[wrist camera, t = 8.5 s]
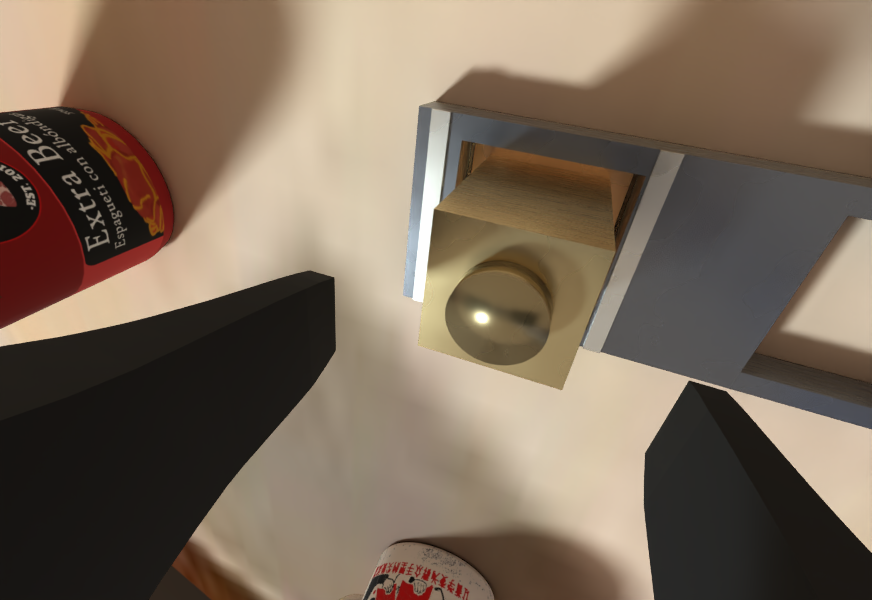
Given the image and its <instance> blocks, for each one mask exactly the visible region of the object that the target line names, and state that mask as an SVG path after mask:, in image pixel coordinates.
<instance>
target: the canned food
mask: <svg viewBox="0 0 872 600" xmlns="http://www.w3.org/2000/svg"><path fill="white" fill-rule="evenodd" d="M173 222H174V216H173V206H172V202H171V198H170V194H169V191H168V188H167V186H166V183H165V181H164V178H163V176H162V175H161V173H160V171H159V169H158V168H157V166H156V164H155V162H154V161H153V160H152V158H151V157H150V156H149V154H148V153H147V152H146V150H145V149H144V148H143V147H142V146H141V145H140V144H139V142H138V141H137V140H136V139H135V138H134V137H133V136H132V135H131V134H130V133H128V132H127V131H126V130H125V129H124V128H122V127H121V126H120V125H119V124H117V123H115V122H114V121H112V120H110V119H109V118H107V117H105V116H103V115H100V114H98V113H95V112H92V111H86V110H80V109H74V108H68V107H51V108H41V109H31V110H21V111H11V112H1V113H0V329H1V328H3V327H6V326H8V325H10V324H12V323H14V322H16V321H18V320H21V319H23V318H25V317H27V316H29V315H31V314H33V313H35V312H38V311H40V310H42V309H44V308H46V307H48V306H50V305H52V304H55V303H57V302H59V301H61V300H63V299H65V298H67V297H69V296H72V295H74V294H76V293H78V292H80V291H82V290H84V289H86V288H89V287H91V286H93V285H95V284H97V283H99V282H101V281H103V280H106V279H108V278H110V277H112V276H114V275H116V274H118V273H121V272H123V271H125V270H127V269H129V268H131V267H133V266H135V265H138V264H140V263H142V262H144V261H146V260H148V259H149V258H151V257H153V256H154V255H155V254H156V253H157V252H158V251H159V250H160V249H161V248H162V247H163V246H164V245H165V244H166V243H167V241H168V240H169V238H170V236H171V233H172V231H173Z"/></svg>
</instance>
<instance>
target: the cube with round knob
mask: <svg viewBox="0 0 872 600" xmlns="http://www.w3.org/2000/svg"><path fill="white" fill-rule="evenodd" d="M615 252H616V250H615V236H614V222H613V208H612V195H611V181H610V179H609V178H604V177H599V176H594V175H589V174H584V173H579V172H574V171H569V170H564V169H559V168H554V167H549V166H544V165H539V164H534V163H529V162H524V161H519V160H514V159H509V158H504V157H499V156H494V155H490V156H489V157H488V158H487V159H486V160H484V161H483V162H482V163H481V164H480V165H479V166H478V167H477V168H476V169H475V170H474V171H473V172H472V173H471V174H470V175H469V176H468V177H467V178H466V179H465V180H464V181H463V182H461V183H460V184H459V185H458V186H457V187H456V188H455V189H454V190H453V191H452V192H451V193H450V194H449V195H448V196H447V197H446V198H445V199H444V200H443V201H442V202H441V203H440V204H438V205H437V206H436V207H435V208H434V211H433V220H432V229H431V237H430V246H429V254H428V263H427V271H426V280H425V288H424V297H423V306H422V314H421V323H420V331H419V340H418V346H421V347H425V348H428V349H431V350H434V351H438V352H441V353H444V354H447V355H450V356H454V357H457V358H460V359H463V360H467V361H470V362H473V363H476V364H479V365H483V366H486V367H489V368H492V369H496V370H499V371H502V372H505V373H508V374H512V375H515V376H518V377H521V378H525V379H528V380H531V381H534V382H537V383H541V384H544V385H547V386H550V387H554V388H557V389H560V390H562V389H563V386H564V384H565V381H566V378H567V376H568V373H569V371H570V368H571V366H572V363H573V360H574V358H575V355H576V353H577V350H578V347H579V345H580V342H581V340H582V337H583V335H584V332H585V329H586V327H587V324H588V322H589V319H590V317H591V314H592V311H593V309H594V306H595V304H596V301H597V298H598V296H599V293H600V291H601V288H602V286H603V283H604V280H605V278H606V275H607V273H608V270H609V267H610V265H611V262H612V260H613V257H614V255H615Z"/></svg>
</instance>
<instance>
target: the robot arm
mask: <svg viewBox="0 0 872 600" xmlns="http://www.w3.org/2000/svg"><path fill="white" fill-rule="evenodd" d="M335 351H336V337H335V284H334V277H331V276H327V275H324V274H320V273H317V272H313V271H305V272H301V273H297V274H293V275H289V276H286V277H283V278H279V279H276V280H273V281H269V282H266V283H263V284H260V285H257V286H254V287H250V288H247V289H244V290H241V291H238V292H234V293H231V294H228V295H225V296H222V297H219V298H215V299H212V300H209V301H205V302H202V303H198V304H195V305H191V306H188V307H184V308H181V309H177V310H173V311H170V312H166V313H163V314H159V315H156V316H152V317H148V318H144V319H140V320H136V321H132V322H128V323H124V324H120V325H115V326H111V327H106V328H101V329H97V330H92V331H87V332H82V333H78V334H73V335H67V336H62V337H57V338H50V339H44V340H38V341H32V342H26V343H19V344H13V345H7V346H1V347H0V600H149V598H150V597H151V595H152V594H153V592H154V591H155V589H156V587H157V586H158V584H159V583H160V581H161V580H162V578H163V577H164V575H165V574H166V572H167V571H168V569H169V568H170V567H171V565H172V564H173V562H174V561H175V559H176V558H177V556H178V555H179V553H180V552H181V550H182V549H183V547H184V546H185V545H186V543H187V542H188V540H189V539H190V537H191V536H192V534H193V533H194V531H195V530H196V528H197V527H198V526H199V524H200V523H201V522H202V520H203V519H204V517H205V516H206V515H207V513H208V512H209V510H210V509H211V508H212V506H213V505H214V503H215V502H216V501H217V499H218V498H219V496H220V495H221V494H222V492H223V491H224V490H225V488H226V487H227V485H228V484H229V483H230V482H231V481H232V479H233V478H234V477H235V476H236V474H237V473H238V472H239V471H240V469H241V468H242V467H243V466H244V465H245V463H246V462H247V461H248V460H249V459H250V458H251V457H252V455H253V454H254V453H255V452H256V451H257V450H258V449H259V447H260V446H261V445H262V444H263V443H264V442H265V441H266V439H267V438H268V437H269V436H270V435H271V434H272V433H273V431H274V430H275V429H276V428H277V427H278V426H279V425H280V423H281V422H282V421H283V420H284V419H285V418H286V417H287V415H288V414H289V413H290V412H291V411H292V410H293V408H294V407H295V406H296V405H297V404H298V403H299V401H300V400H301V399H302V398H303V397H304V396H305V394H306V393H307V392H308V391H309V390H310V389H311V387H312V386H313V385H314V383H315V382H316V380H317V379H318V377H319V376H320V374H321V373H322V371H323V370H324V368H325V367H326V365H327V364H328V362H329V360H330V359H331V357H332V356H333V354H334V352H335ZM644 511H645V521H646V530H647V540H648V549H649V557H650V566H651V574H652V583H653V592H654V600H872V553H871V552H870V551H869V550H868V549H867V548H866V547H865V545H864V544H863V543H862V542H861V541H860V540H859V539H858V538H857V537H856V536H855V535H854V534H853V533H852V532H851V530H850V529H849V528H848V527H847V526H846V525H845V524H844V523H843V522H842V521H841V520H840V519H839V517H838V516H837V515H836V514H835V513H834V512H833V511H832V510H831V509H830V508H829V506H828V505H827V504H826V503H825V502H824V501H823V500H822V499H821V498H820V496H819V495H818V494H817V493H816V492H815V491H814V490H813V488H812V487H811V486H810V485H809V484H808V483H807V482H806V481H805V479H804V478H803V477H802V476H801V475H800V474H799V473H798V471H797V470H796V469H795V468H794V467H793V466H792V465H791V463H790V462H789V461H788V460H787V459H786V458H785V457H784V455H783V454H782V453H781V452H780V451H779V450H778V448H777V447H776V446H775V445H774V444H773V443H772V442H771V440H770V439H769V438H768V437H767V436H766V435H765V433H764V432H763V431H762V430H761V429H760V428H759V427H758V425H757V424H756V423H755V422H754V421H753V420H752V419H751V417H750V416H749V415H748V414H747V413H746V412H745V411H744V410H743V408H742V407H741V406H740V405H739V404H738V403H737V402H736V401H735V400H734V399H733V398H732V397H731V396H730V395H729V394H728V393H727V392H726V391H723V390H720V389H716V388H713V387H709V386H706V385H703V384H699V383H696V382H692V381H689V382H688V383H687V385H686V387H685V388H684V390H683V392H682V393H681V395H680V397H679V398H678V400H677V401H676V403H675V405H674V406H673V408H672V410H671V411H670V413H669V415H668V416H667V418H666V420H665V421H664V423H663V425H662V426H661V428H660V430H659V431H658V433H657V435H656V436H655V438H654V439H653V441H652V443H651V444H650V446H649V448H648V449H647V451H646V453H645V470H644Z"/></svg>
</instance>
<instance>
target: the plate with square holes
mask: <svg viewBox="0 0 872 600" xmlns="http://www.w3.org/2000/svg"><path fill="white" fill-rule="evenodd" d="M472 142H474V143H476V145H475V151H474V157H473V164H472V170H471V173H472V172H473V171H474V170H475V169H476V168H477V167H478V166H479V165H480V164H481V163H482V162H483V161H484V160H486V159H487V158H488V157H489V156H490V155H494V156H499V157H504V158H509V159H514V160H519V161H524V162H529V163H534V164H539V165H544V166H549V167H554V168H559V169H564V170H569V171H574V172H579V173H584V174H589V175H594V176H599V177H604V178H609V179H610V181H611V195H612V208H613V222H614V226H615V223H616V220H617V218H618V215H619V212H620V209H621V207H622V204H623V201H624V199H625V196H626V193H627V191H628V188H629V185H630V183H631V180H632V177H633V175H634V174H638V177H637V179H636V182H635V185H634V187H633V190H632V192H631V195H630V198H629V200H628V203H627V206H626V208H625V211H624V214H623V216H622V219H621V222H620V224H619V227H618V229H617V232H616V235H615V250H616V252H615V255H614V257H613V260H612V262H611V265H610V267H609V270H608V273H607V275H606V278H605V280H604V283H603V286H602V288H601V291H600V293H599V296H598V298H597V301H596V304H595V306H594V309H593V311H592V314H591V317H590V319H589V322H588V324H587V327H586V329H585V332H584V335H583V337H582V340H581V342H580V345H579V346H582V347H583V349H587V350H590V351H594V352H597V353H600V352H603V353H607V354H610V355H614V356H617V357H621V358H624V359H628V360H631V361H635V362H638V363H642V364H645V365H649V366H652V367H656V368H659V369H663V370H666V371H670V372H673V373H677V374H680V375H684V376H687V377H691V378H694V379H698V380H701V381H705V382H708V383H712V384H715V385H719V386H722V387H726V388H729V389H733V390H736V391H740V392H743V393H746V394H750V395H753V396H757V397H760V398H764V399H767V400H771V401H774V402H778V403H781V404H785V405H788V406H792V407H795V408H799V409H802V410H806V411H809V412H813V413H816V414H820V415H823V416H827V417H830V418H834V419H837V420H841V421H844V422H848V423H851V424H855V425H858V426H862V427H865V428H869V429H872V384H870V383H866V382H862V381H858V380H855V379H851V378H847V377H843V376H839V375H836V374H832V373H828V372H824V371H821V370H817V369H813V368H809V367H806V366H802V365H798V364H794V363H791V362H787V361H783V360H779V359H776V358H772V357H768V356H764V355H761V354H757V353H754V352H755V350H756V349H757V347H758V346H759V344H760V343H761V341H762V340H763V339H764V337H765V336H766V334H767V333H768V331H769V330H770V328H771V327H772V325H773V324H774V323H775V321H776V320H777V318H778V317H779V315H780V314H781V312H782V311H783V309H784V308H785V307H786V305H787V304H788V302H789V301H790V299H791V298H792V296H793V295H794V294H795V292H796V291H797V289H798V288H799V286H800V285H801V283H802V282H803V280H804V279H805V278H806V276H807V275H808V273H809V272H810V270H811V269H812V267H813V266H814V264H815V263H816V262H817V260H818V259H819V257H820V256H821V254H822V253H823V251H824V250H825V248H826V247H827V246H828V244H829V243H830V241H831V240H832V238H833V237H834V235H835V234H836V233H837V231H838V230H839V228H840V227H841V225H842V224H843V222H844V221H845V219H846V218H847V217H848V216H853V217H858V218H863V219H868V220H872V178H866V177H860V176H855V175H849V174H843V173H838V172H832V171H827V170H821V169H815V168H810V167H804V166H798V165H793V164H787V163H781V162H776V161H770V160H764V159H759V158H753V157H747V156H742V155H736V154H730V153H725V152H719V151H714V150H708V149H702V148H697V147H691V146H685V145H680V144H674V143H668V142H663V141H657V140H651V139H646V138H640V137H634V136H629V135H623V134H617V133H612V132H606V131H601V130H595V129H589V128H584V127H578V126H572V125H567V124H561V123H555V122H550V121H544V120H538V119H533V118H527V117H521V116H516V115H510V114H505V113H499V112H493V111H488V110H482V109H476V108H471V107H465V106H459V105H454V104H448V103H442V102H437V101H434V102H431V103H427V104H424V105H421V106H419V115H418V127H417V139H416V150H415V162H414V174H413V186H412V197H411V209H410V221H409V233H408V244H407V256H406V268H405V280H404V291H403V295H404V296H407V297H411V298H413V300H416V301H419V302H423V297H424V288H425V280H426V271H427V263H428V254H429V246H430V237H431V229H432V220H433V211H434V208H435V207H436V206H437V205H438V204H440V203H441V202H442V201H443V200H444V199H445V198H446V197H447V196H448V195H449V194H450V193H451V192H452V191H453V190H454V189H455V188H456V187H457V186H458V185H459V184H460V183H461V182H463V181H464V180H465V179H466V178H467V173H468V166H469V160H470V153H471V147H472Z"/></svg>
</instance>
